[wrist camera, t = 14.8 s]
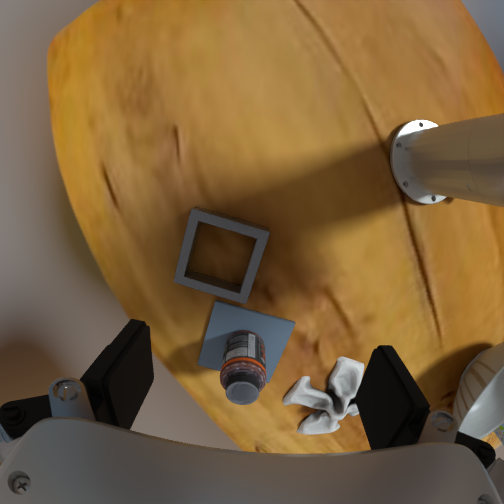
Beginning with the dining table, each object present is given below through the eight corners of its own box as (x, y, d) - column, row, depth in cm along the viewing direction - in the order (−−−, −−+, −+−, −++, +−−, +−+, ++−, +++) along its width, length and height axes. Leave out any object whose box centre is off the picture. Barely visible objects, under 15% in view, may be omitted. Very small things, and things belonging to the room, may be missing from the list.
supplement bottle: (266, 359, 42) (269, 409, 31) (228, 361, 43) (221, 412, 32) (263, 326, 41) (265, 374, 30) (222, 329, 41) (213, 377, 30)
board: (294, 321, 41) (295, 323, 41) (268, 380, 44) (268, 382, 44) (215, 299, 41) (215, 301, 40) (198, 362, 43) (197, 364, 43)
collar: (268, 228, 38) (269, 232, 35) (246, 295, 40) (245, 304, 37) (196, 206, 37) (191, 208, 34) (179, 274, 40) (173, 282, 37)
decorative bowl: (430, 361, 44) (460, 399, 32) (517, 297, 41) (551, 318, 29) (433, 428, 50) (452, 460, 38) (508, 374, 47) (531, 397, 35)
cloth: (307, 440, 49) (311, 462, 44) (261, 392, 46) (261, 417, 40) (403, 391, 46) (415, 410, 40) (376, 330, 42) (390, 350, 36)
